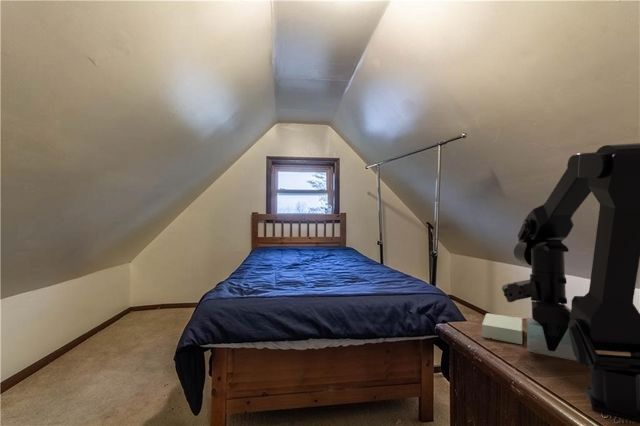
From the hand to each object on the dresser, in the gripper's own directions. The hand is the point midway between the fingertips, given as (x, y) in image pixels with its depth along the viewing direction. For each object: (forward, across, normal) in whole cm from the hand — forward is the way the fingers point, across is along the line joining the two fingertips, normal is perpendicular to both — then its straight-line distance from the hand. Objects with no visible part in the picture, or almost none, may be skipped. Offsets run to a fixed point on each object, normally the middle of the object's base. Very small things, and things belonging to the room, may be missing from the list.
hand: (550, 343), depth 65 cm
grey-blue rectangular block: (+2, 0, 0) cm, 2 cm away
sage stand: (+2, -6, -9) cm, 11 cm away
